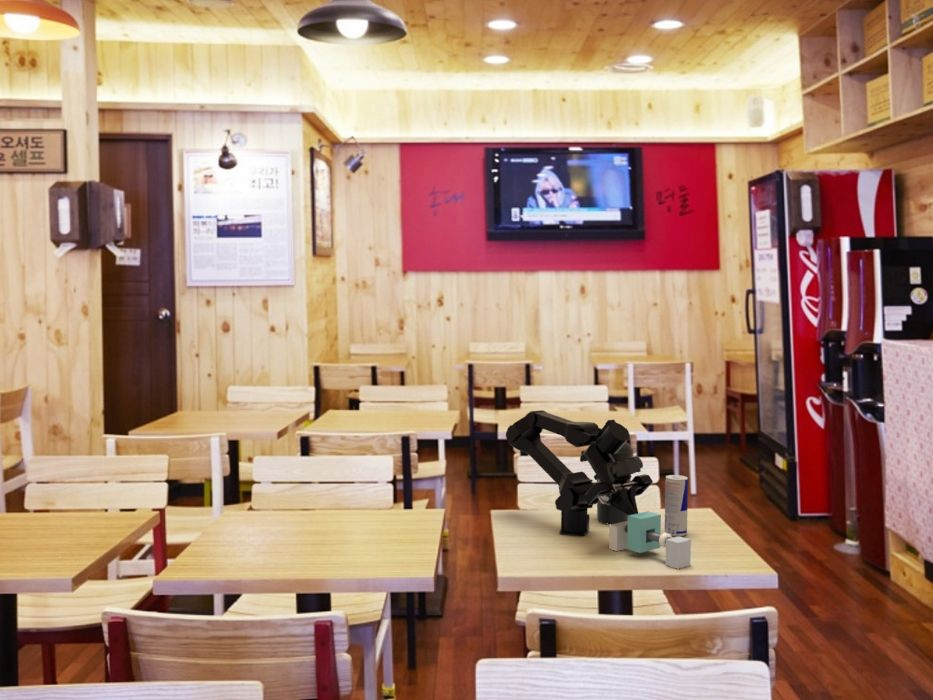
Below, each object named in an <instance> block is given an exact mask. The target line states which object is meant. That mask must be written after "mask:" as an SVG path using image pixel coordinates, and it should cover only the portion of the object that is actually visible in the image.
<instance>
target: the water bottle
mask: <svg viewBox="0 0 933 700" xmlns="http://www.w3.org/2000/svg"><path fill="white" fill-rule="evenodd" d="M611 456H612V457H613V459H614V460H615V462H616V461H620V462H623V461H626V460H629V458H632V457H634V449H633V448H632V446H631V445H630V443H628V442H626V443H625V444H624V445H623V446H622V447H621V448H620V450H619V451H618V452H617V453H616V454H611ZM631 480H632V477H631V478H630V479H629V480H627V483H629V482H631ZM599 482H600V480H596V483H599ZM597 498H598V503H597V504H596V508H597V510H596V512H597V513H596V514H597V516H596V517H597V518H596V519H597V520H598V521H599V522H598V521H597V522H598V523H600V522H602V523H601V524H603V523H608V524H616V523H620V522H625V521H628V515H627V514H625V513H624V512H622V511H620V510H619V509H617V508H615V507H613V506H611V505H607V504H606V502H607V501H608V500H609V499H608V496H607V495H604V496H599V497H597ZM608 524H607V525H608Z"/></svg>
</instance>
